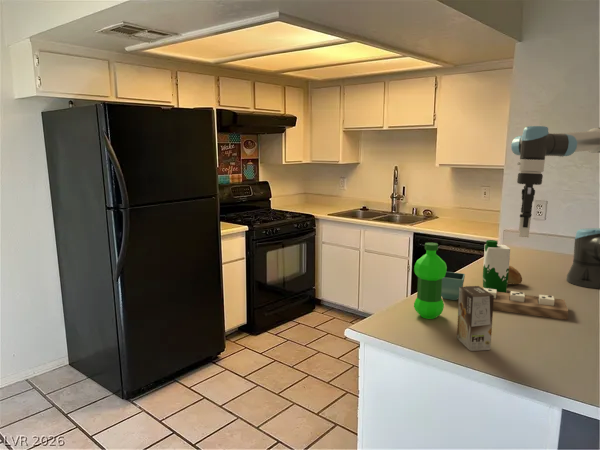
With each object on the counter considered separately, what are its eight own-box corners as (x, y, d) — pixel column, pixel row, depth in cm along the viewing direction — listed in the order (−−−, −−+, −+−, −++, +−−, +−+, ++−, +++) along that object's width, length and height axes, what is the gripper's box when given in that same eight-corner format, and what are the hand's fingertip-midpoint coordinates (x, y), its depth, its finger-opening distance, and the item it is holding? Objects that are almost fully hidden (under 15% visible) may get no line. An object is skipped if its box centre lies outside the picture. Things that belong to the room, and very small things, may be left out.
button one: (496, 298, 159) (496, 288, 159) (495, 302, 155) (496, 292, 155) (483, 296, 161) (483, 287, 161) (482, 300, 157) (482, 290, 157)
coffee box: (491, 350, 122) (495, 295, 119) (469, 351, 121) (473, 296, 119) (475, 336, 131) (479, 285, 128) (455, 337, 130) (458, 286, 128)
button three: (523, 302, 155) (524, 292, 155) (523, 306, 152) (524, 295, 151) (509, 300, 157) (510, 290, 157) (509, 304, 153) (510, 294, 153)
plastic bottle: (434, 309, 153) (437, 239, 149) (450, 320, 143) (454, 246, 139) (407, 311, 151) (410, 241, 147) (422, 323, 141) (425, 248, 137)
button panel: (563, 307, 154) (564, 299, 153) (567, 319, 143) (568, 311, 142) (472, 296, 166) (473, 288, 166) (469, 306, 156) (470, 298, 155)
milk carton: (480, 286, 179) (483, 238, 175) (503, 287, 177) (507, 239, 173) (484, 293, 170) (487, 243, 167) (509, 294, 168) (513, 243, 165)
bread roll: (520, 288, 175) (522, 269, 174) (480, 283, 183) (482, 265, 181) (522, 282, 183) (524, 264, 182) (484, 277, 191) (485, 260, 189)
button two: (552, 305, 152) (553, 295, 151) (553, 309, 148) (554, 299, 147) (538, 303, 153) (539, 293, 153) (538, 307, 150) (539, 297, 149)
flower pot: (463, 295, 167) (465, 273, 166) (461, 303, 159) (463, 279, 158) (440, 292, 171) (441, 270, 169) (437, 299, 163) (438, 276, 161)
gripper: (517, 171, 161) (511, 228, 164) (518, 172, 138) (511, 238, 142) (540, 172, 158) (533, 230, 161) (545, 173, 135) (537, 240, 139)
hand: (523, 234), depth 151 cm, fingers open, 13 cm apart
